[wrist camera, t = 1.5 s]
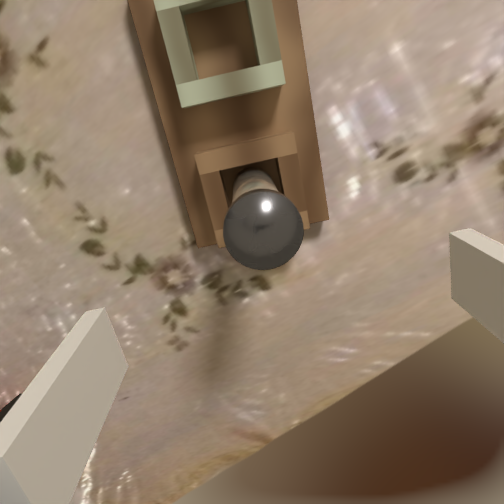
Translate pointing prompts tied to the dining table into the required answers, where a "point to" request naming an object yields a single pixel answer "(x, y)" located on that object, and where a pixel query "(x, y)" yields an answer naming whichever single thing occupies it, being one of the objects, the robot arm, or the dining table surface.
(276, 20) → the socket board
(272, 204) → the lock pin
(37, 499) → the robot arm
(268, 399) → the dining table surface
